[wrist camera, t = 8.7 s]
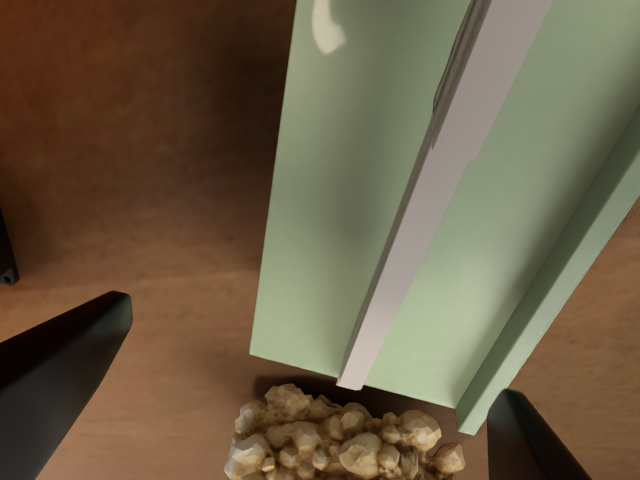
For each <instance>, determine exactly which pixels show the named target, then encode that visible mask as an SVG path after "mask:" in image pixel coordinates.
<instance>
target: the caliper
mask: <svg viewBox="0 0 640 480" xmlns="http://www.w3.org/2000/svg"><path fill="white" fill-rule="evenodd" d="M552 2H553V0H471V2H470V4H469V6H468V9H467V11H466V14H465V16H464V19H463V21H462V23H461V26H460V28H459V31H458V33H457V36H456V38H455V41H454V44H453V47H452V50H451V53H450V56H449V59H448V62H447V65H446V68H445V71H444V73H443V76H442V78H441V80H440V83H439V85H438V88H437V91H436V94H435V97H434V101H433V115H432V118H431V120H430V123H429V126H428V129H427V131H426V134H425V137H424V140H423V142H422V145H421V148H420V150H419V153H418V156H417V159H416V161H415V164H414V167H413V170H412V172H411V175H410V178H409V181H408V183H407V186H406V189H405V191H404V194H403V197H402V200H401V202H400V205H399V208H398V211H397V213H396V216H395V219H394V221H393V224H392V227H391V230H390V232H389V235H388V238H387V241H386V243H385V246H384V249H383V252H382V254H381V257H380V260H379V262H378V265H377V268H376V271H375V273H374V276H373V279H372V281H371V284H370V287H369V290H368V292H367V295H366V298H365V300H364V303H363V306H362V309H361V311H360V314H359V317H358V319H357V322H356V325H355V328H354V330H353V333H352V336H351V338H350V341H349V344H348V347H347V349H346V352H345V355H344V358H343V364H342V368H341V371H340V373H339V376H338V379H337V382H336V385H337V386H341V387H345V388H348V389H352V390H356V391H357V390H361V388H362V386H363V384H364V382H365V380H366V378H367V376H368V374H369V372H370V369H371V367H372V365H373V363H374V361H375V359H376V357H377V355H378V353H379V350H380V348H381V346H382V344H383V342H384V340H385V338H386V336H387V334H388V331H389V329H390V327H391V325H392V323H393V321H394V319H395V317H396V314H397V312H398V310H399V308H400V306H401V304H402V302H403V300H404V298H405V295H406V293H407V291H408V289H409V287H410V285H411V283H412V281H413V278H414V276H415V274H416V272H417V270H418V268H419V266H420V264H421V261H422V259H423V257H424V255H425V253H426V251H427V249H428V247H429V244H430V242H431V240H432V238H433V236H434V234H435V232H436V230H437V228H438V225H439V223H440V221H441V219H442V217H443V215H444V213H445V211H446V208H447V206H448V204H449V202H450V200H451V198H452V196H453V194H454V191H455V189H456V187H457V185H458V183H459V181H460V179H461V177H462V174H463V172H464V170H465V168H466V166H467V164H468V162H469V160H470V159H473V160H475V159H476V157H477V155H478V153H479V151H480V149H481V147H482V145H483V143H484V141H485V139H486V137H487V135H488V133H489V131H490V129H491V126H492V124H493V122H494V120H495V118H496V116H497V114H498V112H499V110H500V108H501V106H502V104H503V102H504V100H505V98H506V96H507V94H508V92H509V90H510V88H511V86H512V84H513V81H514V79H515V77H516V75H517V73H518V71H519V69H520V67H521V65H522V63H523V61H524V59H525V57H526V55H527V53H528V51H529V49H530V47H531V45H532V43H533V41H534V39H535V37H536V34H537V32H538V30H539V28H540V26H541V24H542V22H543V20H544V18H545V16H546V14H547V12H548V10H549V8H550V6H551V4H552Z"/></svg>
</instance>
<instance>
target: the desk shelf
mask: <svg viewBox="0 0 640 480" xmlns="http://www.w3.org/2000/svg"><path fill="white" fill-rule="evenodd" d="M470 2H471V0H297V1H296V9H295V16H294V23H293V31H292V38H291V46H290V53H289V60H288V68H287V75H286V83H285V90H284V98H283V105H282V112H281V120H280V127H279V135H278V142H277V149H276V157H275V164H274V172H273V179H272V187H271V194H270V201H269V209H268V216H267V224H266V231H265V238H264V246H263V253H262V261H261V268H260V276H259V283H258V290H257V298H256V305H255V313H254V320H253V327H252V335H251V342H250V350H249V354H250V355H254V356H258V357H261V358H265V359H269V360H273V361H276V362H280V363H284V364H288V365H292V366H295V367H299V368H303V369H307V370H310V371H314V372H318V373H322V374H326V375H329V376H333V377H337V378H338V376H339V373H340V371H341V368H342V364H343V358H344V355H345V352H346V349H347V347H348V344H349V341H350V338H351V336H352V333H353V330H354V328H355V325H356V322H357V319H358V317H359V314H360V311H361V309H362V306H363V303H364V300H365V298H366V295H367V292H368V290H369V287H370V284H371V281H372V279H373V276H374V273H375V271H376V268H377V265H378V262H379V260H380V257H381V254H382V252H383V249H384V246H385V243H386V241H387V238H388V235H389V232H390V230H391V227H392V224H393V221H394V219H395V216H396V213H397V211H398V208H399V205H400V202H401V200H402V197H403V194H404V191H405V189H406V186H407V183H408V181H409V178H410V175H411V172H412V170H413V167H414V164H415V161H416V159H417V156H418V153H419V150H420V148H421V145H422V142H423V140H424V137H425V134H426V131H427V129H428V126H429V123H430V120H431V118H432V115H433V101H434V97H435V94H436V91H437V88H438V85H439V83H440V80H441V78H442V76H443V73H444V71H445V68H446V65H447V62H448V59H449V56H450V53H451V50H452V47H453V44H454V41H455V38H456V36H457V33H458V31H459V28H460V26H461V23H462V21H463V19H464V16H465V14H466V11H467V9H468V6H469V4H470ZM639 195H640V0H553V2H552V4H551V6H550V8H549V10H548V12H547V14H546V16H545V18H544V20H543V22H542V24H541V26H540V28H539V30H538V32H537V34H536V37H535V39H534V41H533V43H532V45H531V47H530V49H529V51H528V53H527V55H526V57H525V59H524V61H523V63H522V65H521V67H520V69H519V71H518V73H517V75H516V77H515V79H514V81H513V84H512V86H511V88H510V90H509V92H508V94H507V96H506V98H505V100H504V102H503V104H502V106H501V108H500V110H499V112H498V114H497V116H496V118H495V120H494V122H493V124H492V126H491V129H490V131H489V133H488V135H487V137H486V139H485V141H484V143H483V145H482V147H481V149H480V151H479V153H478V155H477V157H476V159H475V160H473V159H470V160H469V162H468V164H467V166H466V168H465V170H464V172H463V174H462V177H461V179H460V181H459V183H458V185H457V187H456V189H455V191H454V194H453V196H452V198H451V200H450V202H449V204H448V206H447V208H446V211H445V213H444V215H443V217H442V219H441V221H440V223H439V225H438V228H437V230H436V232H435V234H434V236H433V238H432V240H431V242H430V244H429V247H428V249H427V251H426V253H425V255H424V257H423V259H422V261H421V264H420V266H419V268H418V270H417V272H416V274H415V276H414V278H413V281H412V283H411V285H410V287H409V289H408V291H407V293H406V295H405V298H404V300H403V302H402V304H401V306H400V308H399V310H398V312H397V314H396V317H395V319H394V321H393V323H392V325H391V327H390V329H389V331H388V334H387V336H386V338H385V340H384V342H383V344H382V346H381V348H380V350H379V353H378V355H377V357H376V359H375V361H374V363H373V365H372V367H371V369H370V372H369V374H368V376H367V378H366V380H365V382H364V384H363V385H367V386H371V387H375V388H378V389H382V390H386V391H390V392H393V393H397V394H401V395H405V396H409V397H412V398H416V399H420V400H424V401H427V402H431V403H435V404H439V405H443V406H446V407H450V408H454V409H455V415H456V423H457V431H458V432H462V433H465V434H469V435H475V433H476V432H477V431H478V429H479V428H480V426H481V425H482V423H483V422H484V420H485V419H486V417H487V413H488V410H489V408H490V406H491V405H492V403H493V402H494V400H495V399H496V397H497V396H498V394H499V393H500V391H501V390H502V389H505V388H507V387H508V386H509V384H510V383H511V381H512V380H513V378H514V377H515V375H516V374H517V372H518V371H519V370H520V368H521V367H522V365H523V364H524V362H525V361H526V359H527V358H528V357H529V355H530V354H531V352H532V351H533V349H534V348H535V346H536V345H537V343H538V342H539V341H540V339H541V338H542V336H543V335H544V333H545V332H546V330H547V329H548V328H549V326H550V325H551V323H552V322H553V320H554V319H555V317H556V316H557V314H558V313H559V312H560V310H561V309H562V307H563V306H564V304H565V303H566V301H567V300H568V298H569V297H570V296H571V294H572V293H573V291H574V290H575V288H576V287H577V285H578V284H579V283H580V281H581V280H582V278H583V277H584V275H585V274H586V272H587V271H588V269H589V268H590V267H591V265H592V264H593V262H594V261H595V259H596V258H597V256H598V255H599V253H600V252H601V251H602V249H603V248H604V246H605V245H606V243H607V242H608V240H609V239H610V238H611V236H612V235H613V233H614V232H615V230H616V229H617V227H618V226H619V224H620V223H621V222H622V220H623V219H624V217H625V216H626V214H627V213H628V211H629V210H630V208H631V207H632V206H633V204H634V203H635V201H636V200H637V198H638V197H639Z"/></svg>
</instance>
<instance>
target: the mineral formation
mask: <svg viewBox="0 0 640 480" xmlns="http://www.w3.org/2000/svg"><path fill="white" fill-rule="evenodd" d="M265 398H266V400H267V402H268V405H267V406H266V407H264V406H263V405H262V404H261V402H260V401H251V402H249V403H247V404H246V405H244V406H242V407H241V409H240V416H239V417H238V418H237V419H236V420H235V428H236V431H235V433H234V435H233V439H232V446H231V450H230V454H229V457H228V459H227V462H226V464H225V466H224V468H225V472H226V474H227V475H228V477H229V478H230V479H231V480H455V474H456V472H458V471H460V470H461V469H463V468H464V467H465V462H464V457H463V453H462V448H461V444H458V443H451V444H442V446H441V447H440V448H439V449H438V451H437V452H436V453H435V454H434V456H433V457H431V456H429V455H428V453H427V451H428V450H429V449H431V448H432V447H433V446H434V445H435V444H436V442H437V441H438V439H439V438H440V437H441V431H440V428H439V425H438V422H437V421H436V420H435V419H434V418H433V417H432V416H430V415H428V414H426V413H424V412H422V411H420V410H418V409H417V410H407V411H406V412H404V413H403V414H402V415H400V416H399V417H396V415H395V414H393V413H392V412H389V413H386V414H384V416H383V420H381V419H377V418H374V419H373V418H372V417H371V415H370V414H369V412H368V411H367V410H366V408H365V407H363V406H362V405H361V404H359V403H348V404H346V405H345V406H344V407H341V406H340V405H338V404H337V403H332V402H331V400H329V399H327V398H326V397H325V396H323V395H322V394H321V395H320V396H318V397H317V398H316V399H315V400H313V398H312V395H304V394H303V392H302V391H301V389H300V388H297V387H296V386H295V385H294V384H293V383H291V384H283V385H282V386H272V388H271V389H270V390H269V391H268V392H267V393H266V394H265Z"/></svg>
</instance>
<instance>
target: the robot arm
mask: <svg viewBox="0 0 640 480" xmlns="http://www.w3.org/2000/svg"><path fill="white" fill-rule="evenodd" d="M19 280H20V278H19V274H18V270H17V267H16V263H15V259H14V256H13V252H12V249H11V245H10V241H9V238H8V234H7V230H6V227H5V223H4V220H3V216H2V212H1V209H0V283H3V284H6V285H14V284H16V283H17V282H18V281H19ZM132 321H133V315H132V304H131V297H130V295H129V294H126V293H122V292H118V291H110V292H107V293H105V294H103V295H101V296H99V297H97V298H95V299H93V300H90V301H88V302H86V303H84V304H82V305H80V306H78V307H76V308H73V309H71V310H69V311H67V312H65V313H63V314H61V315H59V316H56V317H54V318H52V319H50V320H48V321H46V322H44V323H42V324H39V325H37V326H35V327H33V328H31V329H29V330H27V331H25V332H22V333H20V334H18V335H16V336H14V337H12V338H10V339H8V340H5V341H3V342H1V343H0V480H35V479H36V478H37V476H38V475H39V473H40V472H41V470H42V469H43V467H44V466H45V464H46V463H47V462H48V460H49V459H50V457H51V456H52V454H53V453H54V451H55V450H56V448H57V447H58V445H59V444H60V443H61V441H62V440H63V438H64V437H65V435H66V434H67V432H68V431H69V429H70V428H71V426H72V425H73V424H74V422H75V421H76V419H77V418H78V416H79V415H80V413H81V412H82V410H83V409H84V407H85V406H86V405H87V403H88V402H89V400H90V399H91V397H92V396H93V394H94V393H95V391H96V390H97V388H98V387H99V385H100V383H101V382H102V380H103V378H104V376H105V375H106V373H107V371H108V369H109V367H110V365H111V364H112V362H113V360H114V358H115V356H116V354H117V352H118V350H119V349H120V347H121V345H122V343H123V341H124V339H125V337H126V336H127V334H128V332H129V330H130V328H131V325H132ZM487 438H488V466H489V480H592V479H591V478H590V476H589V475H588V474H587V473H586V471H585V470H584V469H583V468H582V466H581V465H580V464H579V463H578V461H577V460H576V459H575V458H574V456H573V455H572V454H571V453H570V451H569V450H568V449H567V448H566V446H565V445H564V444H563V443H562V441H561V440H560V439H559V438H558V436H557V435H556V434H555V433H554V431H553V430H552V429H551V428H550V426H549V425H548V424H547V423H546V421H545V420H544V419H543V418H542V416H541V415H540V414H539V413H538V411H537V410H536V409H535V408H534V406H533V405H532V404H531V403H530V401H529V400H528V399H527V398H526V396H525V395H524V394H523V393H521V392H519V391H515V390H511V389H507V388H505V389H502V390H501V391H500V393H499V394H498V396H497V397H496V399H495V400H494V402H493V403H492V405H491V406H490V408H489V410H488V413H487Z"/></svg>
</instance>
